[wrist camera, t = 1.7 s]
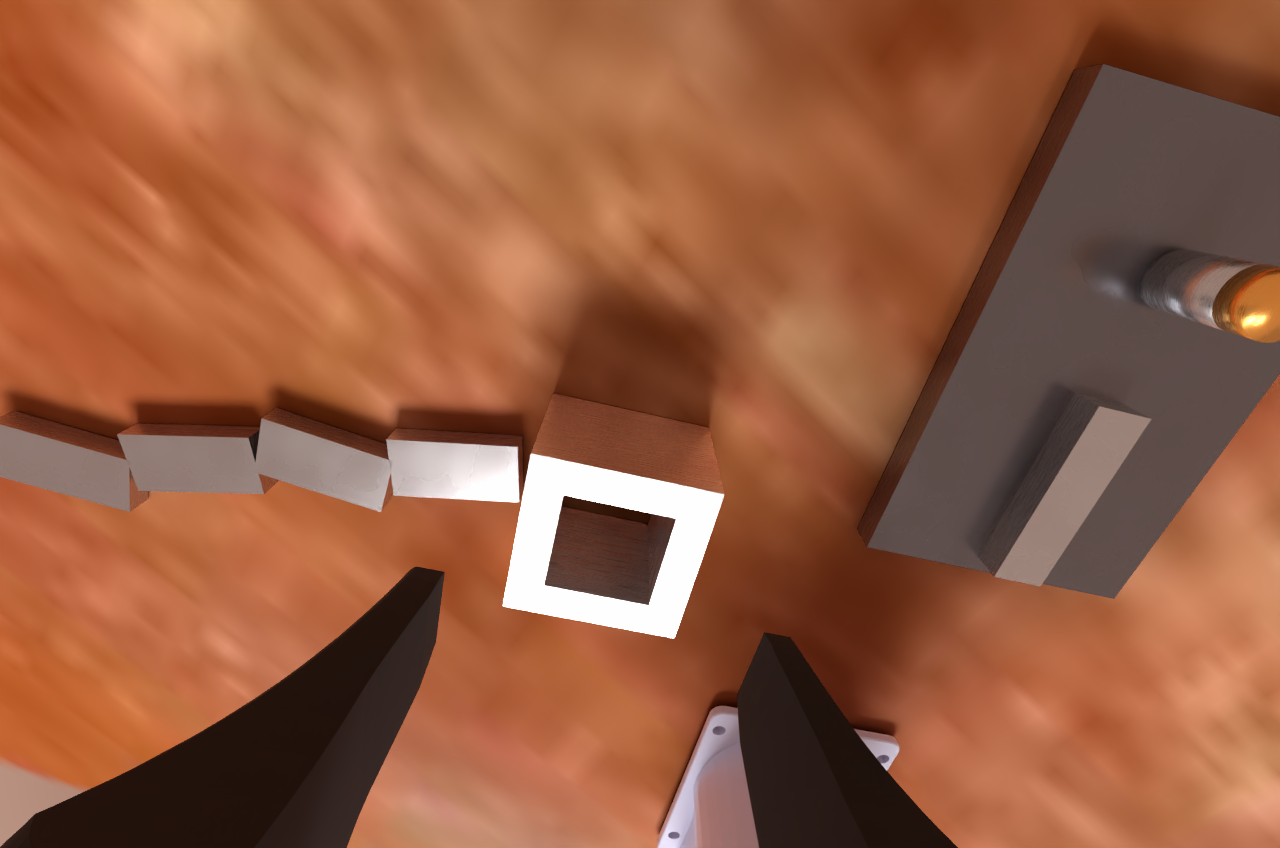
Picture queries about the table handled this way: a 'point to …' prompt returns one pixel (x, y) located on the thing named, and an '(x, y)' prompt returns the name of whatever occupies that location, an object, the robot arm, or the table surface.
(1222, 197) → the keeper
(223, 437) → the chain
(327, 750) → the robot arm
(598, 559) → the end link
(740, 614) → the table surface
